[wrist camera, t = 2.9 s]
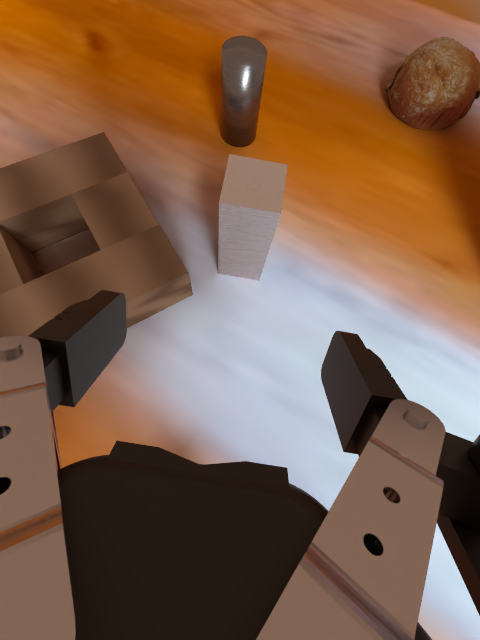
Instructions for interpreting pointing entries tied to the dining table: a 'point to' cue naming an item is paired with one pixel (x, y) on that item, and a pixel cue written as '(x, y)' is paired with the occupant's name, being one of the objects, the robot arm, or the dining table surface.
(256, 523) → the robot arm
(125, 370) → the dining table surface
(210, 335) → the dining table surface
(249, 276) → the square bit
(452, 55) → the bread roll
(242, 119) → the round bit
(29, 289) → the socket block
